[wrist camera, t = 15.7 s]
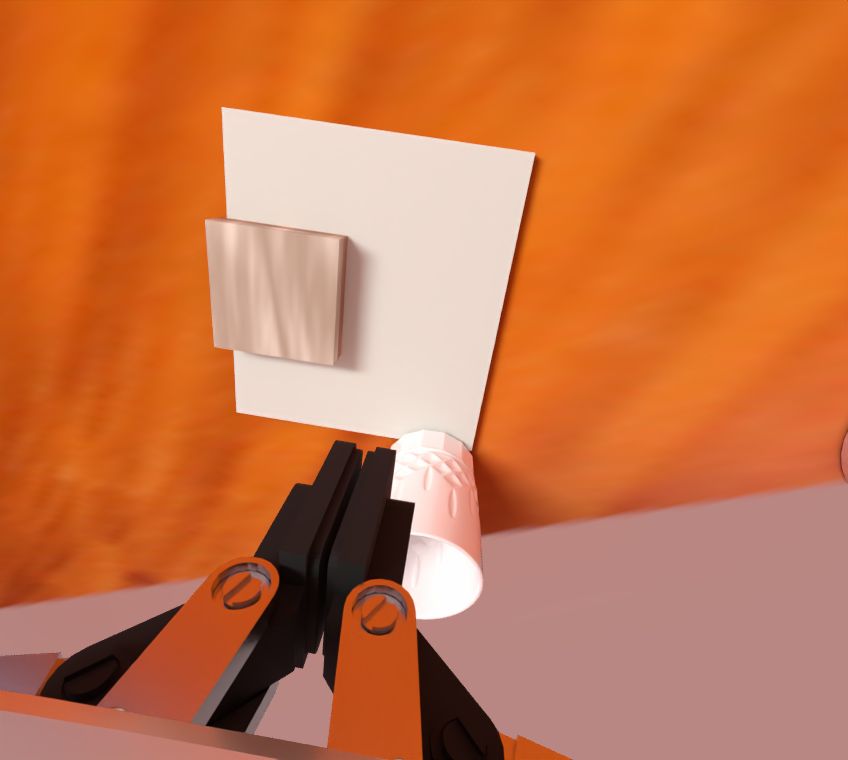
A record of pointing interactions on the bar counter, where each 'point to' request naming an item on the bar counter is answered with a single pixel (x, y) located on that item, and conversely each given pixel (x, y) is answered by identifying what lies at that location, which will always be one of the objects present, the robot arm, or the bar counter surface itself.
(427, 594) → the white cup
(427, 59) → the bar counter surface
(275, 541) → the robot arm
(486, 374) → the mat
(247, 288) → the tile
